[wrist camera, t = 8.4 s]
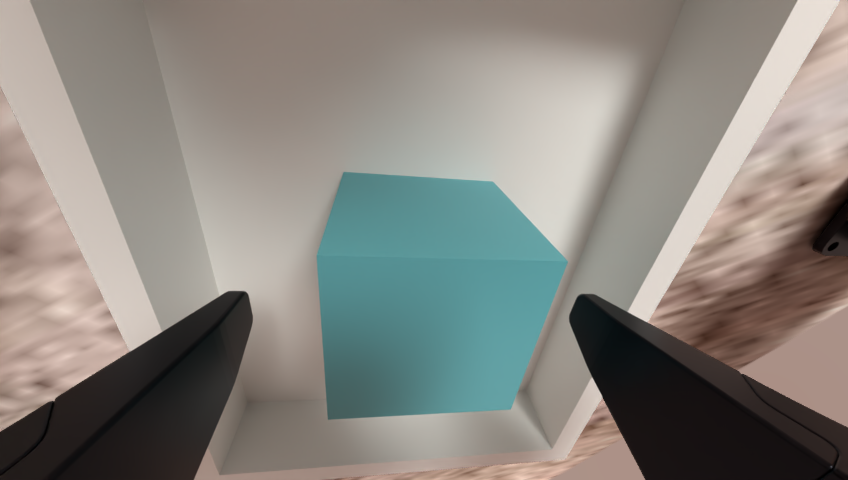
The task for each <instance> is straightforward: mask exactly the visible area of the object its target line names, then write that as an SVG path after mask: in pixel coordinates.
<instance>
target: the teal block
mask: <svg viewBox="0 0 848 480" xmlns="http://www.w3.org/2000/svg"><path fill="white" fill-rule="evenodd" d="M567 263H568V261H567V260H566V259H565V257H564V256H563V255H562V254H561V253H560V252H559V251H558V250H557V249H556V248H555V247H554V246H553V245H552V244H551V243H550V242H549V240H548V239H547V238H546V237H545V236H544V235H543V234H542V233H541V232H540V231H539V230H538V229H537V228H536V227H535V226H534V225H533V223H532V222H531V221H530V220H529V219H528V218H527V217H526V216H525V215H524V214H523V213H522V212H521V211H520V210H519V209H518V208H517V206H516V205H515V204H514V203H513V202H512V201H511V200H510V199H509V198H508V197H507V196H506V195H505V194H504V193H503V192H502V191H501V189H500V188H499V187H498V186H497V185H496V184H495V183H494V182H493V181H477V180H462V179H446V178H431V177H415V176H400V175H385V174H369V173H354V172H343V175H342V178H341V181H340V184H339V187H338V191H337V194H336V197H335V200H334V203H333V206H332V209H331V212H330V215H329V218H328V221H327V225H326V228H325V231H324V234H323V237H322V240H321V243H320V246H319V249H318V252H317V270H318V284H319V299H320V313H321V328H322V343H323V357H324V372H325V386H326V401H327V415H328V420H333V419H351V418H369V417H386V416H404V415H422V414H440V413H458V412H476V411H494V410H511V408H512V405H513V403H514V400H515V397H516V395H517V392H518V390H519V387H520V384H521V382H522V379H523V377H524V374H525V372H526V369H527V366H528V364H529V361H530V359H531V356H532V354H533V351H534V348H535V346H536V343H537V341H538V338H539V335H540V333H541V330H542V328H543V325H544V323H545V320H546V317H547V315H548V312H549V310H550V307H551V304H552V302H553V299H554V297H555V294H556V292H557V289H558V286H559V284H560V281H561V279H562V276H563V274H564V271H565V268H566V266H567Z"/></svg>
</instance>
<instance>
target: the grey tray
mask: <svg viewBox="0 0 848 480" xmlns="http://www.w3.org/2000/svg"><path fill="white" fill-rule="evenodd" d="M839 2H840V0H0V86H1V88H2V91H3V93H4V95H5V97H6V99H7V101H8V103H9V105H10V107H11V109H12V111H13V113H14V115H15V117H16V119H17V121H18V123H19V125H20V128H21V130H22V132H23V134H24V136H25V138H26V140H27V142H28V144H29V146H30V148H31V150H32V152H33V154H34V156H35V158H36V160H37V162H38V164H39V167H40V169H41V171H42V173H43V175H44V177H45V179H46V181H47V183H48V185H49V187H50V189H51V191H52V193H53V195H54V197H55V199H56V201H57V203H58V206H59V208H60V210H61V212H62V214H63V216H64V218H65V220H66V222H67V224H68V226H69V228H70V230H71V232H72V234H73V236H74V238H75V240H76V242H77V245H78V247H79V249H80V251H81V253H82V255H83V257H84V259H85V261H86V263H87V265H88V267H89V269H90V271H91V273H92V275H93V277H94V279H95V281H96V284H97V286H98V288H99V290H100V292H101V294H102V296H103V298H104V300H105V302H106V304H107V306H108V308H109V310H110V312H111V314H112V316H113V318H114V320H115V323H116V325H117V327H118V329H119V331H120V333H121V335H122V337H123V339H124V341H125V343H126V345H127V347H128V349H129V351H132V350H134V349H135V348H137V347H138V346H140V345H142V344H143V343H145V342H146V341H148V340H150V339H151V338H153V337H154V336H156V335H158V334H159V333H161V332H163V331H164V330H166V329H167V328H169V327H171V326H172V325H174V324H175V323H177V322H179V321H180V320H182V319H183V318H185V317H187V316H188V315H190V314H192V313H193V312H195V311H196V310H198V309H200V308H201V307H203V306H204V305H206V304H208V303H209V302H211V301H212V300H214V299H216V298H217V297H219V296H220V295H222V294H224V293H225V292H227V291H246V292H247V293H248V295H249V299H250V304H251V309H252V314H253V324H252V328H251V331H250V335H249V338H248V341H247V345H246V348H245V351H244V355H243V358H242V361H241V365H240V368H239V372H238V375H237V378H236V381H235V384H234V386H233V389H232V391H231V394H230V396H229V399H228V401H227V403H226V406H225V408H224V410H223V413H222V415H221V417H220V420H219V422H218V424H217V427H216V429H215V431H214V434H213V436H212V438H211V441H210V443H209V446H208V448H207V450H206V453H205V455H204V457H203V460H202V462H201V464H200V467H199V469H198V471H197V474H196V476H195V478H194V480H326V479H338V478H350V477H362V476H374V475H386V474H398V473H410V472H422V471H433V470H445V469H457V468H469V467H481V466H493V465H505V464H517V463H529V462H541V461H552V460H564V459H566V457H567V456H568V454H569V452H570V451H571V449H572V447H573V446H574V444H575V442H576V441H577V439H578V437H579V436H580V434H581V432H582V431H583V429H584V427H585V426H586V424H587V422H588V421H589V419H590V417H591V416H592V414H593V412H594V411H595V409H596V407H597V406H598V404H599V402H600V401H601V399H602V395H601V393H600V391H599V390H598V388H597V386H596V384H595V382H594V380H593V378H592V376H591V374H590V372H589V370H588V367H587V365H586V363H585V360H584V358H583V355H582V353H581V350H580V348H579V345H578V343H577V340H576V338H575V335H574V333H573V331H572V328H571V326H570V323H569V314H570V312H571V309H572V307H573V305H574V302H575V300H576V298H577V296H578V295H579V294H595V295H597V296H599V297H601V298H603V299H604V300H606V301H608V302H610V303H612V304H614V305H616V306H617V307H619V308H621V309H623V310H625V311H627V312H629V313H631V314H632V315H634V316H636V317H638V318H640V319H642V320H644V321H645V322H648V321H649V319H650V317H651V316H652V314H653V312H654V311H655V309H656V307H657V306H658V304H659V302H660V301H661V299H662V297H663V296H664V294H665V292H666V291H667V289H668V287H669V286H670V284H671V282H672V280H673V279H674V277H675V275H676V274H677V272H678V270H679V269H680V267H681V265H682V264H683V262H684V260H685V259H686V257H687V255H688V254H689V252H690V250H691V249H692V247H693V245H694V244H695V242H696V240H697V239H698V237H699V235H700V234H701V232H702V230H703V229H704V227H705V225H706V224H707V222H708V220H709V219H710V217H711V215H712V214H713V212H714V210H715V209H716V207H717V205H718V204H719V202H720V200H721V199H722V197H723V195H724V194H725V192H726V190H727V189H728V187H729V185H730V184H731V182H732V180H733V179H734V177H735V175H736V174H737V172H738V170H739V169H740V167H741V165H742V164H743V162H744V160H745V159H746V157H747V155H748V154H749V152H750V150H751V149H752V147H753V145H754V144H755V142H756V140H757V139H758V137H759V135H760V134H761V132H762V130H763V129H764V127H765V125H766V124H767V122H768V120H769V119H770V117H771V115H772V114H773V112H774V110H775V109H776V107H777V105H778V104H779V102H780V100H781V98H782V97H783V95H784V93H785V92H786V90H787V88H788V87H789V85H790V83H791V82H792V80H793V78H794V77H795V75H796V73H797V72H798V70H799V68H800V67H801V65H802V63H803V62H804V60H805V58H806V57H807V55H808V53H809V52H810V50H811V48H812V47H813V45H814V43H815V42H816V40H817V38H818V37H819V35H820V33H821V32H822V30H823V28H824V27H825V25H826V23H827V22H828V20H829V18H830V17H831V15H832V13H833V12H834V10H835V8H836V7H837V5H838V3H839ZM343 172H354V173H369V174H385V175H400V176H415V177H431V178H446V179H462V180H477V181H493V182H494V183H495V184H496V185H497V186H498V187H499V188H500V189H501V191H502V192H503V193H504V194H505V195H506V196H507V197H508V198H509V199H510V200H511V201H512V202H513V203H514V204H515V205H516V206H517V208H518V209H519V210H520V211H521V212H522V213H523V214H524V215H525V216H526V217H527V218H528V219H529V220H530V221H531V222H532V223H533V225H534V226H535V227H536V228H537V229H538V230H539V231H540V232H541V233H542V234H543V235H544V236H545V237H546V238H547V239H548V240H549V242H550V243H551V244H552V245H553V246H554V247H555V248H556V249H557V250H558V251H559V252H560V253H561V254H562V255H563V256H564V257H565V259H566V260H567V261H568V263H567V266H566V268H565V271H564V274H563V276H562V279H561V281H560V284H559V286H558V289H557V292H556V294H555V297H554V299H553V302H552V304H551V307H550V310H549V312H548V315H547V317H546V320H545V323H544V325H543V328H542V330H541V333H540V335H539V338H538V341H537V343H536V346H535V348H534V351H533V354H532V356H531V359H530V361H529V364H528V366H527V369H526V372H525V374H524V377H523V379H522V382H521V384H520V387H519V390H518V392H517V395H516V397H515V400H514V403H513V405H512V408H511V410H494V411H476V412H458V413H440V414H422V415H404V416H386V417H369V418H351V419H333V420H328V415H327V401H326V386H325V372H324V357H323V343H322V328H321V313H320V299H319V284H318V270H317V252H318V249H319V246H320V243H321V240H322V237H323V234H324V231H325V228H326V225H327V221H328V218H329V215H330V212H331V209H332V206H333V203H334V200H335V197H336V194H337V191H338V187H339V184H340V181H341V178H342V175H343Z"/></svg>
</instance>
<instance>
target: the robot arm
mask: <svg viewBox="0 0 848 480" xmlns="http://www.w3.org/2000/svg"><path fill="white" fill-rule="evenodd" d="M812 249H813V250H814V251H816V252H818V253H821V254H823V255H828V256H848V202H847V203H846V204H845V206H844V207H843V208H842V209H841V211H840V212H839V213H838V214H837V215H836V217H835V218H834V219H833V220H832V222H831V223H830V224H829V225H828V227H827V228H826V229H825V230H824V232H823V233H822V234H821V235H820V236H819V238H818V239H817V240H816V241H815V243H814V244H813V247H812ZM569 323H570V326H571V328H572V331H573V333H574V335H575V338H576V340H577V343H578V345H579V348H580V350H581V353H582V355H583V358H584V360H585V363H586V365H587V367H588V370H589V372H590V374H591V376H592V378H593V380H594V382H595V384H596V386H597V388H598V390H599V391H600V393H601V395H602V397H603V399H604V401H605V403H606V405H607V407H608V409H609V411H610V413H611V415H612V416H613V418H614V420H615V422H616V424H617V426H618V428H619V430H620V432H621V434H622V436H623V438H624V439H625V441H626V443H627V445H628V447H629V449H630V451H631V453H632V455H633V457H634V459H635V460H636V462H637V465H638V466H639V468H640V470H641V472H642V474H643V476H644V478H645V480H848V427H846V426H844V425H842V424H839V423H837V422H836V421H834V420H831V419H829V418H827V417H825V416H823V415H821V414H819V413H817V412H815V411H814V410H811V409H809V408H808V407H805V406H804V405H802V404H799V403H797V402H796V401H793V400H792V399H790V398H788V397H786V396H784V395H782V394H780V393H778V392H776V391H774V390H773V389H771V388H769V387H766V386H765V385H763V384H761V383H759V382H757V381H756V380H754V379H752V378H750V377H748V376H746V375H744V374H741V373H740V372H739V371H737V370H735V369H733V368H731V367H729V366H727V365H726V364H724V363H722V362H720V361H718V360H716V359H714V358H713V357H711V356H709V355H707V354H705V353H703V352H701V351H700V350H698V349H696V348H694V347H692V346H690V345H688V344H686V343H685V342H683V341H681V340H679V339H677V338H675V337H673V336H672V335H670V334H668V333H666V332H664V331H662V330H660V329H658V328H657V327H655V326H653V325H651V324H649V323H647V322H645V321H644V320H642V319H640V318H638V317H636V316H634V315H632V314H631V313H629V312H627V311H625V310H623V309H621V308H619V307H617V306H616V305H614V304H612V303H610V302H608V301H606V300H604V299H603V298H601V297H599V296H597V295H595V294H579V295H578V296H577V298H576V300H575V302H574V305H573V307H572V309H571V312H570V314H569ZM252 324H253V314H252V309H251V304H250V299H249V295H248V293H247V292H246V291H227V292H225V293H224V294H222V295H220V296H219V297H217V298H216V299H214V300H212V301H211V302H209V303H208V304H206V305H204V306H203V307H201V308H200V309H198V310H196V311H195V312H193V313H192V314H190V315H188V316H187V317H185V318H183V319H182V320H180V321H179V322H177V323H175V324H174V325H172V326H171V327H169V328H167V329H166V330H164V331H163V332H161V333H159V334H158V335H156V336H154V337H153V338H151V339H150V340H148V341H146V342H145V343H143V344H142V345H140V346H138V347H137V348H135V349H134V350H132V351H130V352H129V353H127V354H125V355H124V356H122V357H121V358H119V359H117V360H116V361H114V362H113V363H111V364H109V365H108V366H106V367H105V368H103V369H101V370H100V371H98V372H96V373H95V374H93V375H92V376H90V377H88V378H87V379H85V380H84V381H82V382H80V383H79V384H77V385H76V386H74V387H72V388H71V389H69V390H67V391H66V392H64V393H63V394H61V395H59V396H58V397H56V399H55V401H50V402H48V403H46V404H45V405H43V406H42V407H40V408H38V409H37V410H35V411H33V412H32V413H30V414H29V415H27V416H25V417H24V418H22V419H21V420H19V421H17V422H16V423H14V424H12V425H11V426H9V427H7V428H6V429H4V430H2V431H1V432H0V480H194V478H195V476H196V474H197V471H198V469H199V467H200V464H201V462H202V460H203V457H204V455H205V453H206V450H207V448H208V446H209V443H210V441H211V438H212V436H213V434H214V431H215V429H216V427H217V424H218V422H219V420H220V417H221V415H222V413H223V410H224V408H225V406H226V403H227V401H228V399H229V396H230V394H231V391H232V389H233V386H234V384H235V381H236V378H237V375H238V372H239V368H240V365H241V361H242V358H243V355H244V351H245V348H246V345H247V341H248V338H249V335H250V331H251V328H252Z"/></svg>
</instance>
